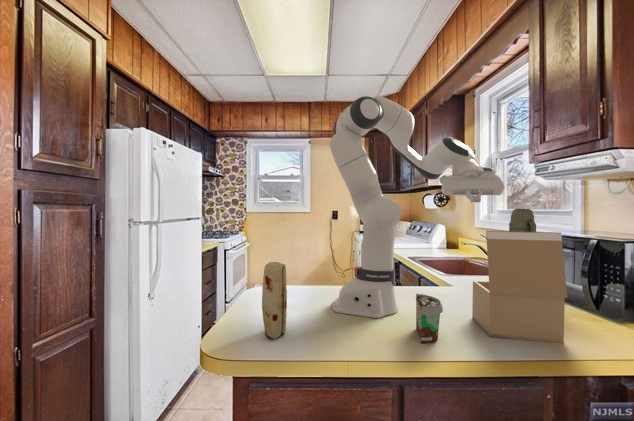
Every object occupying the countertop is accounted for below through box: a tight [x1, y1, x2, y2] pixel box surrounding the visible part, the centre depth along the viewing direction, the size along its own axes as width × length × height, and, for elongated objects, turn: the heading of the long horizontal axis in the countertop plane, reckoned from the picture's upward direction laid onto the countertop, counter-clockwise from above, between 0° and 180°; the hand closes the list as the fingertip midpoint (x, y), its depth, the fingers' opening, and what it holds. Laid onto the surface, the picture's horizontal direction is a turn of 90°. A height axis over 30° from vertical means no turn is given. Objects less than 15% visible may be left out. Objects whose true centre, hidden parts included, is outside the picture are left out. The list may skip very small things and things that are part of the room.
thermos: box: [508, 208, 537, 232], centre depth 117 cm, size 9×12×35 cm
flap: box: [485, 230, 568, 299], centre depth 81 cm, size 18×17×1 cm
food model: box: [261, 261, 288, 340], centre depth 82 cm, size 10×7×20 cm
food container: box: [415, 293, 444, 345], centre depth 82 cm, size 12×6×10 cm, turn 168°
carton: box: [471, 280, 566, 344], centre depth 87 cm, size 18×14×12 cm
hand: (476, 201), depth 103 cm, fingers closed
